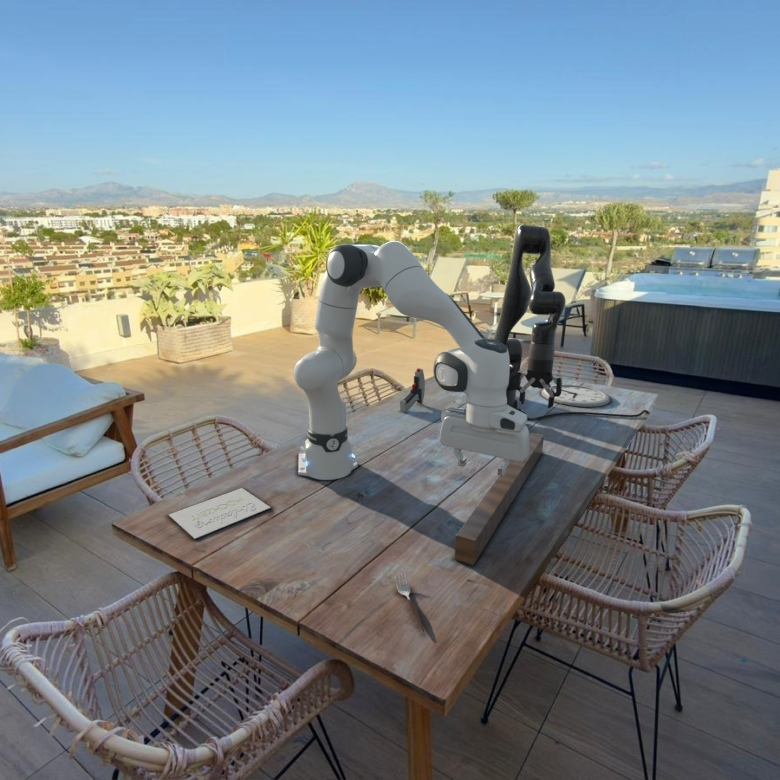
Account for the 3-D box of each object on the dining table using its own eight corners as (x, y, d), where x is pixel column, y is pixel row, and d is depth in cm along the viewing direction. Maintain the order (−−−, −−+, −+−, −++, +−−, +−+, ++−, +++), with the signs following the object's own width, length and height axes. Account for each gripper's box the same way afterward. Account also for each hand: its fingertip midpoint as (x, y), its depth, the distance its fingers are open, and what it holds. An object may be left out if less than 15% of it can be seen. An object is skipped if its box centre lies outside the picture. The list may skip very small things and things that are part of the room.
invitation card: (241, 487, 151) (270, 507, 140) (241, 488, 151) (270, 508, 141) (168, 514, 136) (194, 538, 126) (168, 515, 136) (194, 539, 126)
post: (528, 449, 181) (530, 432, 179) (542, 452, 179) (544, 435, 177) (454, 559, 120) (455, 535, 118) (473, 565, 118) (475, 540, 116)
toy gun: (399, 376, 211) (420, 366, 222) (400, 413, 216) (420, 401, 228) (404, 377, 209) (424, 367, 220) (404, 414, 215) (424, 403, 226)
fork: (417, 635, 98) (417, 626, 97) (393, 581, 112) (394, 573, 112) (430, 632, 98) (430, 623, 98) (405, 579, 113) (405, 571, 112)
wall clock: (623, 402, 226) (556, 403, 224) (623, 406, 227) (556, 407, 224) (592, 383, 255) (532, 383, 252) (591, 386, 255) (532, 386, 253)
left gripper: (436, 409, 117) (434, 465, 122) (527, 425, 108) (521, 485, 113) (447, 401, 123) (444, 455, 127) (534, 416, 114) (528, 474, 118)
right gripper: (515, 355, 162) (510, 405, 167) (562, 361, 156) (556, 412, 161) (521, 351, 169) (516, 398, 173) (567, 356, 162) (561, 406, 167)
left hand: (481, 469), depth 120 cm, fingers open, 8 cm apart
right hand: (535, 405), depth 167 cm, fingers open, 8 cm apart
